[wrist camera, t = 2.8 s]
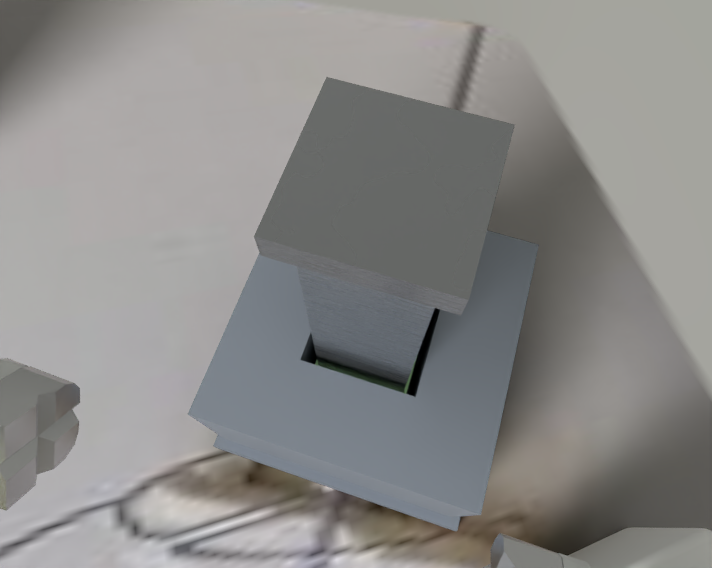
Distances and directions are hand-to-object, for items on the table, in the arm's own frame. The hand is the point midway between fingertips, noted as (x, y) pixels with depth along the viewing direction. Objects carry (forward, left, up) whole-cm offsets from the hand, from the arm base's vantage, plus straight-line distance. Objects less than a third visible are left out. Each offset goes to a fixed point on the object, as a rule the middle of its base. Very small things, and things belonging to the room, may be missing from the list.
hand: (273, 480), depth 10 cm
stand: (-6, +5, -20) cm, 21 cm away
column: (-6, +5, -18) cm, 20 cm away
